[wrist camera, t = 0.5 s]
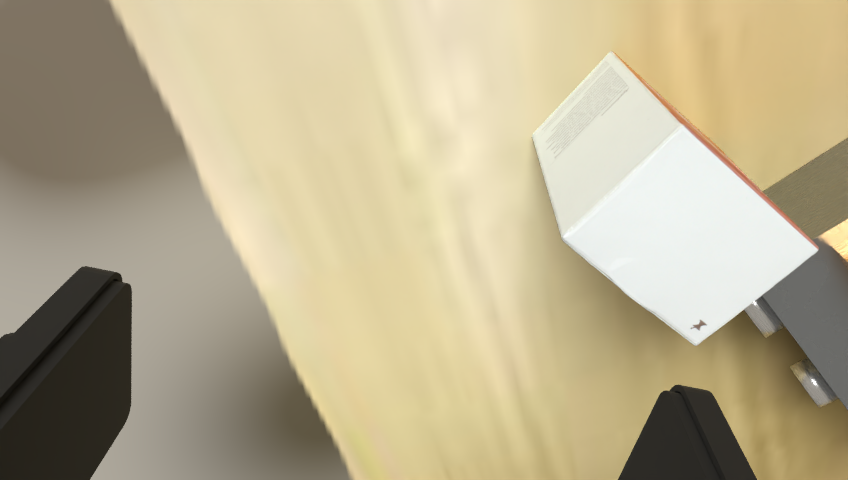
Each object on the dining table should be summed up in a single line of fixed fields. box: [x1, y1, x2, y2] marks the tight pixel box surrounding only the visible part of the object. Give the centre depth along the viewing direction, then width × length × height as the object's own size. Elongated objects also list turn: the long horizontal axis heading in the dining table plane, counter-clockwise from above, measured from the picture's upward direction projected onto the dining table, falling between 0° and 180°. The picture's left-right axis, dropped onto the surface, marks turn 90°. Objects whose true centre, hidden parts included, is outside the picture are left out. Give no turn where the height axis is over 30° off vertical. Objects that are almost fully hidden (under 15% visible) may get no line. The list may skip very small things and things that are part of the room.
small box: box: [532, 51, 819, 346], centre depth 31 cm, size 8×6×13 cm
